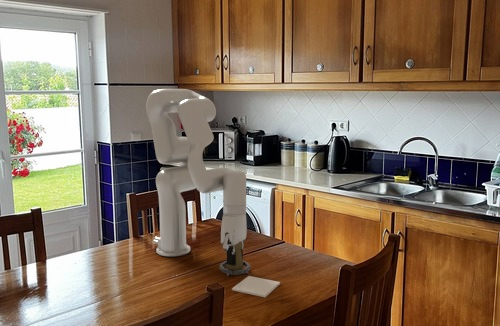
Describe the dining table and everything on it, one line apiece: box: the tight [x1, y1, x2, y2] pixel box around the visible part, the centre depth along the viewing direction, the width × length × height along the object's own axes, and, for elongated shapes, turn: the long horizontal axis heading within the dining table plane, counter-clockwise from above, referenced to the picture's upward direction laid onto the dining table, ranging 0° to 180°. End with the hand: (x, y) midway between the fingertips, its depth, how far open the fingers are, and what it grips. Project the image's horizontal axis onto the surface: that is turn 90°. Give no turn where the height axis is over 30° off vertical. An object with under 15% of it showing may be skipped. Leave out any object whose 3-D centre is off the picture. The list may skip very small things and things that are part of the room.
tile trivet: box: [231, 275, 281, 298], centre depth 147 cm, size 11×11×1 cm
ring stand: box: [219, 260, 251, 278], centre depth 159 cm, size 10×10×2 cm
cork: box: [225, 241, 244, 276], centre depth 158 cm, size 6×6×11 cm
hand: (234, 262), depth 159 cm, fingers closed on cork, 4 cm apart
